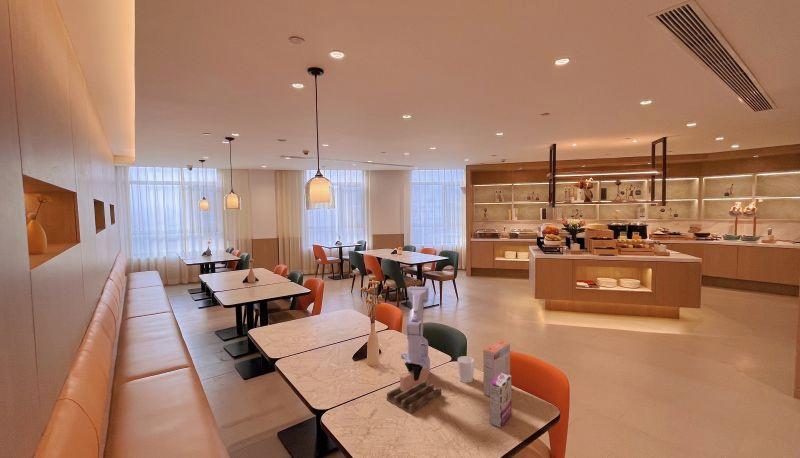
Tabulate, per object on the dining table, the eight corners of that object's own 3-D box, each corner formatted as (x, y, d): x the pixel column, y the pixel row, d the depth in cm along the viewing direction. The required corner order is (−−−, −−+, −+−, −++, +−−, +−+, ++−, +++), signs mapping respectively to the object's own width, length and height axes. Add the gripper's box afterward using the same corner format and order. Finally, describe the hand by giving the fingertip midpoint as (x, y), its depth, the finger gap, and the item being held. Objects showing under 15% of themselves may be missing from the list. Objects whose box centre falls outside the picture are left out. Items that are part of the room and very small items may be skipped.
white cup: (461, 374, 176) (462, 354, 176) (476, 378, 172) (476, 358, 171) (454, 380, 170) (454, 360, 169) (469, 385, 165) (470, 364, 165)
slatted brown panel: (417, 383, 167) (417, 376, 167) (441, 394, 157) (441, 387, 157) (387, 400, 153) (386, 393, 153) (410, 413, 143) (410, 406, 143)
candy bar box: (499, 410, 145) (500, 371, 144) (511, 414, 142) (512, 375, 141) (488, 424, 136) (489, 383, 135) (501, 429, 133) (501, 387, 132)
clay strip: (425, 377, 161) (425, 364, 161) (428, 378, 160) (428, 365, 160) (400, 390, 150) (400, 376, 150) (403, 391, 149) (403, 378, 148)
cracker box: (498, 383, 167) (499, 340, 166) (510, 387, 163) (511, 343, 162) (482, 394, 158) (482, 348, 156) (494, 399, 153) (494, 352, 152)
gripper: (396, 346, 156) (396, 376, 157) (420, 356, 146) (420, 388, 147) (407, 342, 161) (407, 371, 162) (431, 351, 151) (431, 382, 152)
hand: (414, 378), depth 155 cm, fingers closed on clay strip, 2 cm apart
